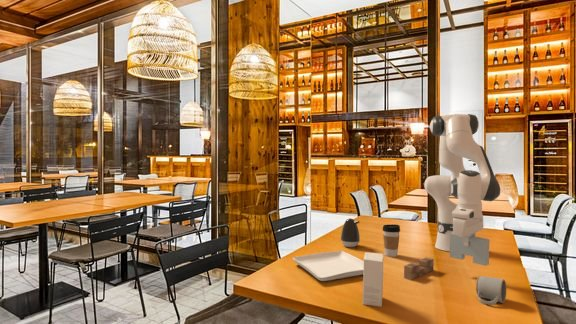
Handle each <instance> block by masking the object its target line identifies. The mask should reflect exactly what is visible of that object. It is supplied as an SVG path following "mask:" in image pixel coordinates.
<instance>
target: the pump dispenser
mask: <svg viewBox="0 0 576 324" xmlns="http://www.w3.org/2000/svg"><path fill="white" fill-rule="evenodd" d="M358 224H360V221H359V220H357V221H355V220H354V218H348V219H346V220H345V222H344V223H343V226H342V229H341V232H340V240H341V243H342V245H343V246H344V247H346V248H355V247H357V246H358V245H359V243H360V241H361V236H360V230H359V227H358Z"/></svg>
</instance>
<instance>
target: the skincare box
mask: <svg viewBox="0 0 576 324" xmlns="http://www.w3.org/2000/svg"><path fill="white" fill-rule="evenodd" d="M363 261H364V269H363V277H362V305H365V306H371V307H372V306H373V307H380V308H381V307H383V292H384V291H383V290H384V254H383V253H378V252H368V251H367V252H364V256H363Z"/></svg>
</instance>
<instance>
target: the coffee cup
mask: <svg viewBox="0 0 576 324" xmlns="http://www.w3.org/2000/svg"><path fill="white" fill-rule="evenodd" d="M400 226H401V225H399V224H383V226H382V231H383V249H384V255H385V256H386V257H391V258H394V257H398V253H399V251H398V250H399V245H400V244H399V243H400V232H401V228H400Z"/></svg>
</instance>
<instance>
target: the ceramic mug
mask: <svg viewBox="0 0 576 324" xmlns="http://www.w3.org/2000/svg"><path fill="white" fill-rule="evenodd" d="M475 291H476V292H475V293H476V295H477V299H478V301H479V303H481V304H482V303H484V304H483V305H485V304H488V305H487V306H494V305H496V304H497V303H500V304H503V303H505V302H504V301H506V298H507V283H506V280H505V279H503V278H496V277H490V276H478V277H477V278H476V281H475ZM482 298H483V299H482ZM484 299H486V300H484ZM487 300H488V301H487ZM489 300H490V301H489Z"/></svg>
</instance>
